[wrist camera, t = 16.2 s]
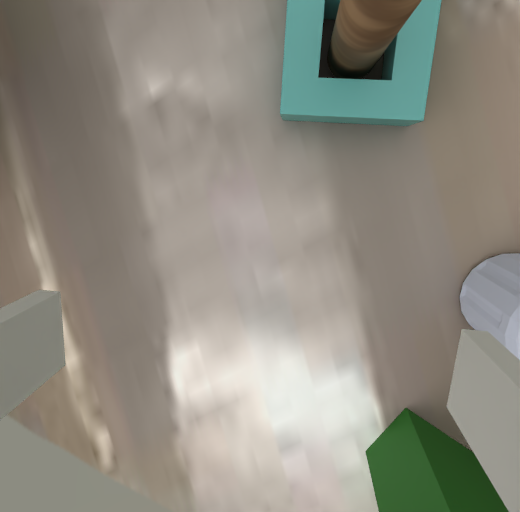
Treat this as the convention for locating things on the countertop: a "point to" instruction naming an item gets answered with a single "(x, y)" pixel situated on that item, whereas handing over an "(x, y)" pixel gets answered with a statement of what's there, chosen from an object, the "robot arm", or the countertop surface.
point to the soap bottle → (495, 299)
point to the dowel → (365, 34)
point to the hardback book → (427, 471)
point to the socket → (357, 90)
